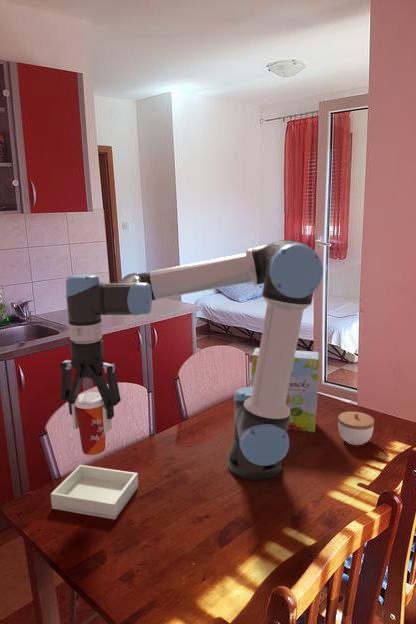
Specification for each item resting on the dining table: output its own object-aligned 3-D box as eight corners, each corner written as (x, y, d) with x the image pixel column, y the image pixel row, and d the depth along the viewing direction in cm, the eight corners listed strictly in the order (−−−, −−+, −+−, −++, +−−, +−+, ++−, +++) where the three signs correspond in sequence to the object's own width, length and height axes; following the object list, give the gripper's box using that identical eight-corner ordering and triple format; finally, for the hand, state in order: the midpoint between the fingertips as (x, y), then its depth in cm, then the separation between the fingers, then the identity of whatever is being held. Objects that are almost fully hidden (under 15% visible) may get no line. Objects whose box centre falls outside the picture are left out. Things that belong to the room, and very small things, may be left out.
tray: (138, 486, 127) (137, 473, 126) (114, 519, 114) (113, 504, 113) (81, 477, 131) (80, 464, 130) (51, 508, 118) (50, 493, 117)
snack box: (249, 427, 160) (250, 354, 154) (253, 416, 168) (253, 346, 163) (316, 434, 155) (319, 358, 150) (316, 422, 164) (319, 350, 158)
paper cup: (101, 458, 115) (98, 404, 112) (72, 455, 117) (68, 402, 114) (114, 443, 123) (111, 391, 120) (86, 440, 124) (82, 390, 121)
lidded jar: (377, 449, 145) (379, 421, 143) (341, 449, 145) (343, 421, 143) (366, 433, 155) (368, 406, 153) (333, 433, 155) (335, 406, 153)
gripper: (39, 341, 113) (47, 430, 118) (119, 346, 107) (124, 440, 112) (57, 333, 120) (64, 417, 125) (132, 338, 114) (137, 426, 119)
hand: (92, 428), depth 118 cm, fingers closed on paper cup, 8 cm apart
